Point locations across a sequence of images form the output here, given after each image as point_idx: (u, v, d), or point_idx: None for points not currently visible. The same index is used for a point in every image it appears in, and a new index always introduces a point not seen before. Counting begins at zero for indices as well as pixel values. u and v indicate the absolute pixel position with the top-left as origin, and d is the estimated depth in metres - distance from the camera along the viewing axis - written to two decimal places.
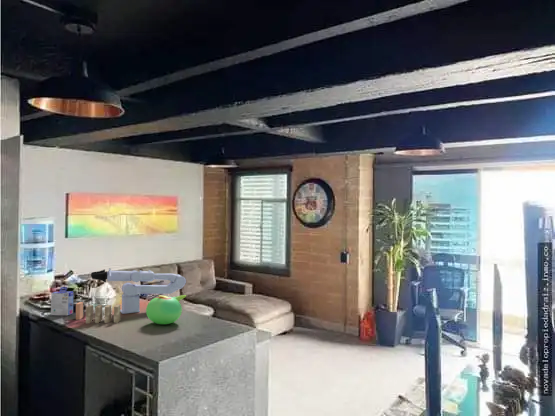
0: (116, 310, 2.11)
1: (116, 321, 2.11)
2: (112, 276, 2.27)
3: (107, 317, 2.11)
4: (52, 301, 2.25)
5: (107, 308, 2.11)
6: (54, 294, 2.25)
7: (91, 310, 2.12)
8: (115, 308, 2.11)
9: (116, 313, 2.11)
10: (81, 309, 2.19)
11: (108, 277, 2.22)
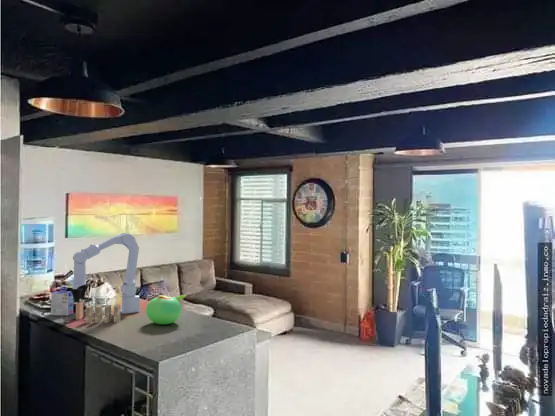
0: (116, 310, 2.11)
1: (116, 321, 2.11)
2: (77, 281, 2.17)
3: (107, 317, 2.11)
4: (52, 301, 2.25)
5: (107, 308, 2.11)
6: (54, 294, 2.25)
7: (91, 310, 2.12)
8: (115, 308, 2.11)
9: (116, 313, 2.11)
10: (81, 309, 2.19)
11: (74, 288, 2.12)
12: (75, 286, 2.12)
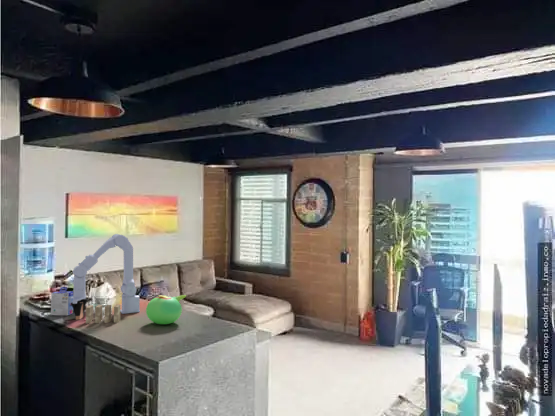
0: (116, 310, 2.11)
1: (116, 321, 2.11)
2: (77, 296, 2.16)
3: (107, 317, 2.11)
4: (52, 301, 2.25)
5: (107, 308, 2.11)
6: (54, 294, 2.25)
7: (91, 310, 2.12)
8: (115, 308, 2.11)
9: (116, 313, 2.11)
10: (81, 309, 2.19)
11: (74, 302, 2.12)
12: (75, 301, 2.12)
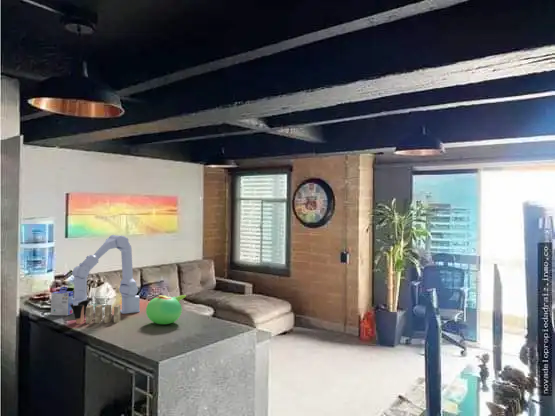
0: (116, 310, 2.11)
1: (116, 321, 2.11)
2: (78, 297, 2.09)
3: (107, 317, 2.11)
4: (52, 301, 2.25)
5: (107, 308, 2.11)
6: (54, 294, 2.25)
7: (91, 310, 2.12)
8: (115, 308, 2.11)
9: (116, 313, 2.11)
10: (82, 313, 2.12)
11: (75, 304, 2.04)
12: (76, 302, 2.04)
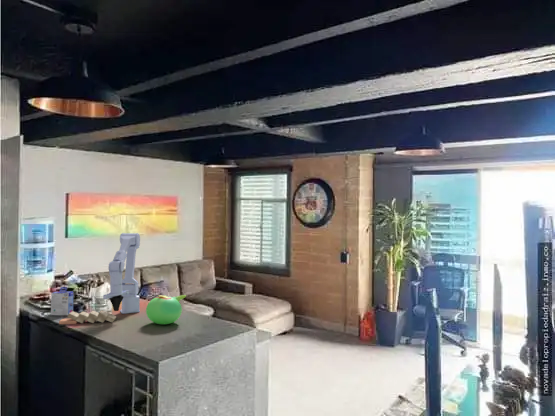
0: (102, 315, 2.10)
1: (112, 319, 2.11)
2: (111, 291, 2.11)
3: (99, 318, 2.10)
4: (52, 301, 2.25)
5: (90, 314, 2.10)
6: (54, 294, 2.25)
7: (74, 313, 2.11)
8: (99, 315, 2.10)
9: (104, 316, 2.11)
10: (68, 319, 2.11)
11: (104, 298, 2.07)
12: (104, 296, 2.07)
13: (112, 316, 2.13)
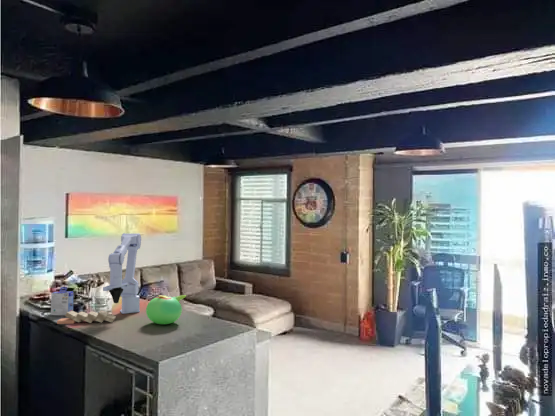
0: (101, 315, 2.10)
1: (111, 319, 2.11)
2: (111, 283, 2.11)
3: (98, 318, 2.10)
4: (52, 301, 2.25)
5: (89, 315, 2.10)
6: (54, 294, 2.25)
7: (72, 313, 2.12)
8: (98, 315, 2.10)
9: (104, 316, 2.11)
10: (66, 319, 2.11)
11: (104, 290, 2.08)
12: (104, 288, 2.07)
13: (111, 316, 2.13)
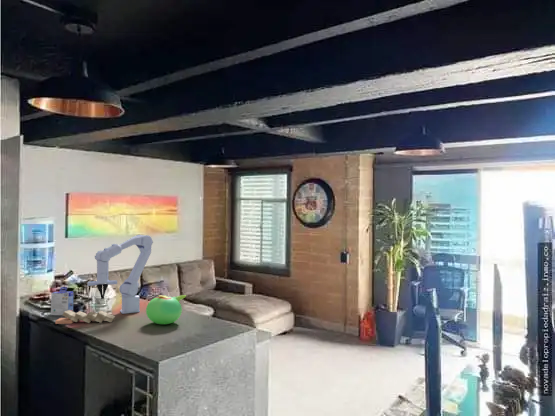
0: (100, 315, 2.11)
1: (111, 319, 2.11)
2: None
3: (97, 318, 2.10)
4: (52, 301, 2.25)
5: (88, 315, 2.10)
6: (54, 294, 2.25)
7: (69, 312, 2.12)
8: (98, 315, 2.10)
9: (103, 316, 2.11)
10: (64, 319, 2.11)
11: None
12: None
13: (111, 316, 2.14)
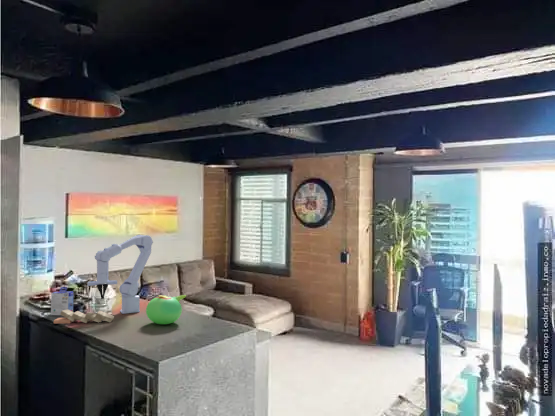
0: (99, 315, 2.11)
1: (110, 319, 2.11)
2: None
3: (95, 318, 2.10)
4: (52, 301, 2.25)
5: (87, 315, 2.10)
6: (54, 294, 2.25)
7: (67, 311, 2.13)
8: (97, 315, 2.11)
9: (102, 316, 2.11)
10: (62, 318, 2.12)
11: None
12: None
13: (110, 316, 2.14)
